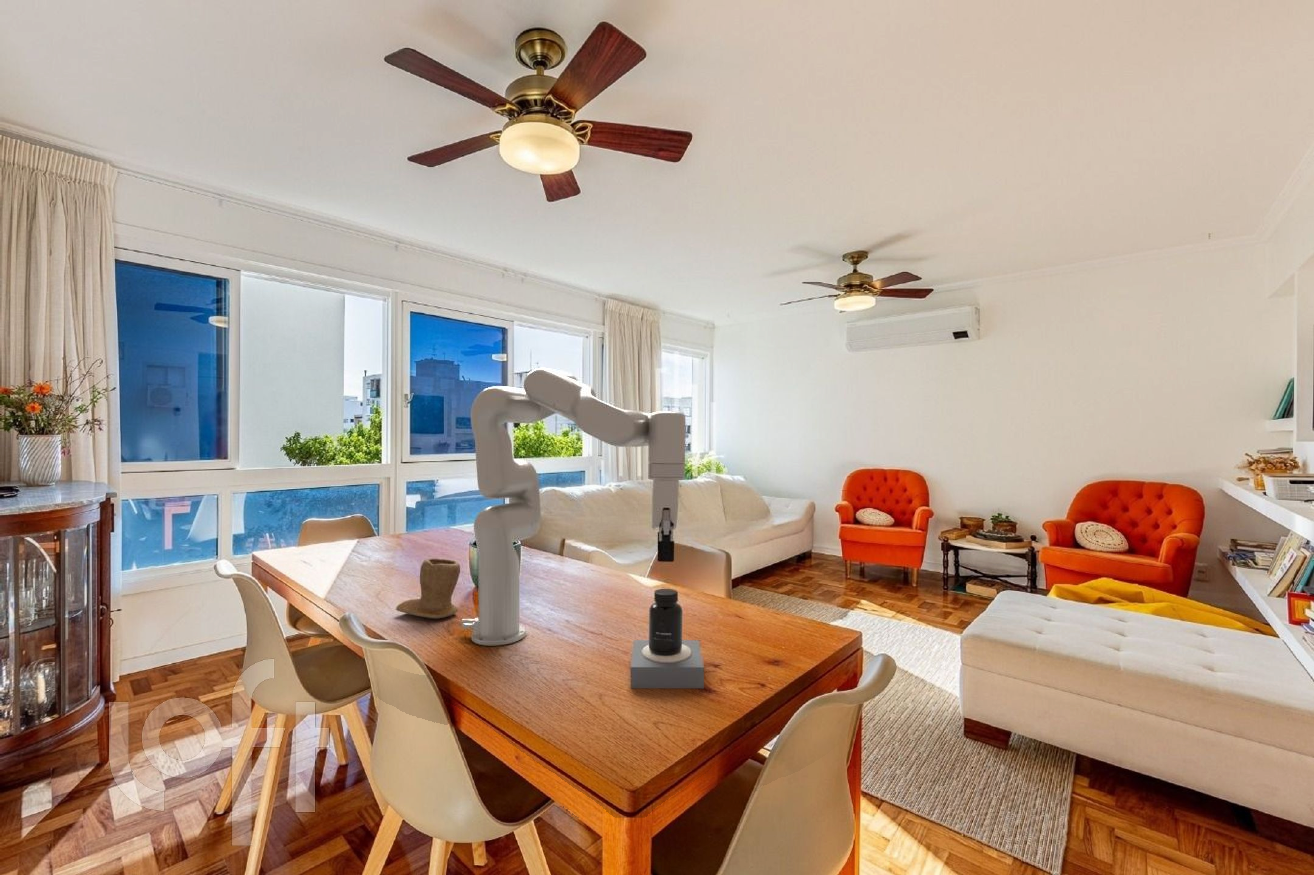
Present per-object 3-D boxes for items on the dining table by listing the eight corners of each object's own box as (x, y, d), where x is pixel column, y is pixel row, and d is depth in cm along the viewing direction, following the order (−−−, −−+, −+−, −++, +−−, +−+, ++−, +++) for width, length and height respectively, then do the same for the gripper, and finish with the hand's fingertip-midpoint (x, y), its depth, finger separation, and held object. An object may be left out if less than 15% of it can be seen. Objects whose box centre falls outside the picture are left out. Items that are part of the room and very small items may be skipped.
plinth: (630, 688, 104) (630, 665, 104) (633, 658, 118) (633, 638, 118) (703, 688, 104) (703, 665, 104) (698, 658, 118) (698, 638, 118)
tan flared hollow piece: (469, 612, 150) (469, 557, 150) (434, 625, 139) (434, 566, 139) (430, 604, 157) (430, 552, 157) (394, 616, 146) (394, 560, 146)
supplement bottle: (658, 659, 107) (658, 597, 107) (643, 647, 113) (643, 589, 113) (688, 652, 110) (688, 593, 110) (672, 641, 116) (672, 585, 116)
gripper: (648, 469, 120) (647, 547, 120) (647, 474, 103) (646, 565, 103) (682, 469, 120) (681, 547, 120) (687, 475, 103) (685, 566, 103)
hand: (665, 555), depth 111 cm, fingers open, 9 cm apart
